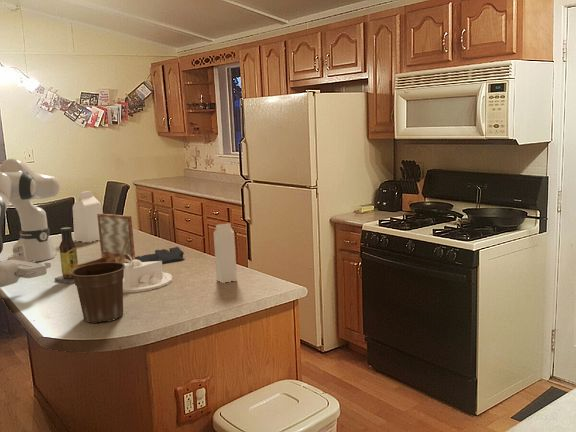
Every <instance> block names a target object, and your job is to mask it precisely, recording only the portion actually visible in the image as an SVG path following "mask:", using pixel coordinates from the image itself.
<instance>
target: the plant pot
mask: <svg viewBox="0 0 576 432" xmlns="http://www.w3.org/2000/svg"><path fill="white" fill-rule="evenodd" d="M124 268H125V265H124V264H122V263H117V262H104V263H95V264H89V265H85V266H81V267H78V268H76V269H74V270H73V271H71V275H72V276H73V278H74V282H75V283H74V285H75V286H76V290H77V294H78V299H79V304H80V308H81V312H82V318H83V320H84V322H86V321H87V322H86V323H89V322H91V323H90V324H98V323H97V322H100V323H101V322H105V321H108V322H110V321H109V320H112V321H114V320H113V319H115V320H117V319H116V318H118V317H119V318H121V317H122V316H123V315H124V293H123V278H124ZM120 316H121V317H120ZM119 318H118V319H119Z"/></svg>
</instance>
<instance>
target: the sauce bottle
mask: <svg viewBox="0 0 576 432" xmlns="http://www.w3.org/2000/svg"><path fill="white" fill-rule="evenodd" d="M72 231H73V229H72V227H67V226H66V227H61V228H60V233H61V242H60V243H59V256H60V264H61V267H60V268H61V273H62V276H63V278H73V276H72V275H71V271H73V270H74V269H76V268H78V264H79V260H78V251H77V250H78V249H77V246H76V244H75V243H76V242H75V240H74V239H73V236H72V235H73V234H72Z"/></svg>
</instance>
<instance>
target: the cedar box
mask: <svg viewBox="0 0 576 432" xmlns="http://www.w3.org/2000/svg"><path fill="white" fill-rule="evenodd" d="M97 217H98V226H99V236H100V240H99V244H100V245H99V246H100V255H101V257H99V258H96V259H92V260H89V261H85V262H81V263H78V267H81V266H85V265H89V264H95V263H104V262H115V257H118V256H120V259H119V262H121V260H122V257H123V256H126V259H128V260H130V261H131V259H130V257H129V256H128V255H127V254H129V255H130V256H131V258H132V260H135V257H136V253H135V243H134V242H135V241H134V232H133V229H134V228H133V221H132V216H131V215H123V214H122V215H121V214H113V213H112V214H111V213H103V214H100V213H99V214H97ZM126 263H129V262H126Z"/></svg>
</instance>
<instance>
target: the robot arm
mask: <svg viewBox="0 0 576 432" xmlns="http://www.w3.org/2000/svg"><path fill="white" fill-rule="evenodd" d="M60 189H61V186H60V182H59V180H58V178H57V177H56V176H55V175H49V174H43V173H40V172H37V171H36V170H35V171H34V170H32V169H31V168H30V167H29V166H28V165H27V164H26V163H24V162H23V161H20V159H16V158H8V159H7V158H6V159H5V160H4V161H2V162H1V164H0V254H1V253H2V252H3V249H4V243H3V237H2V231H3V230H2V229H3V225H4V221H5V220H4V219H5V216H6V215H5V214H6V211H7V209H8V207H9V203H10V204H11V205H12V206H13V207H14V208H15V210H16V211H17V214H18V216H19V221H20V225H21V226H20V227H21V230H18V232H19V233H18V234H19V235H20V236H19V239H17V241H16V243H15V244H13V246H12V255H9V256H8V257H7V260H1V261H0V288H4V287H7V286H10V285H14V284H16V283H18V281H19V280H20V278H22V279H23V278H24V279H33V278H37V277H41V276H45V275H46V274H47V269H50V268H51V267H52V263H51V262H45V263H38V262H43V261H49V260H50V259H54V258H55V257H56V255H57V251H55V248H54V244H53V238H52V237H50V235H51V234H50V228H49V227H48V218H47V212H46V211H45V210H44V208H42V207H39V206H36V205H35V204H33V202H32V200H43V199H44V200H45V199H46V200H47V199H50V198H54V197H56V196H57V195H58V194H59V193H60V192H59V191H60Z"/></svg>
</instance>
